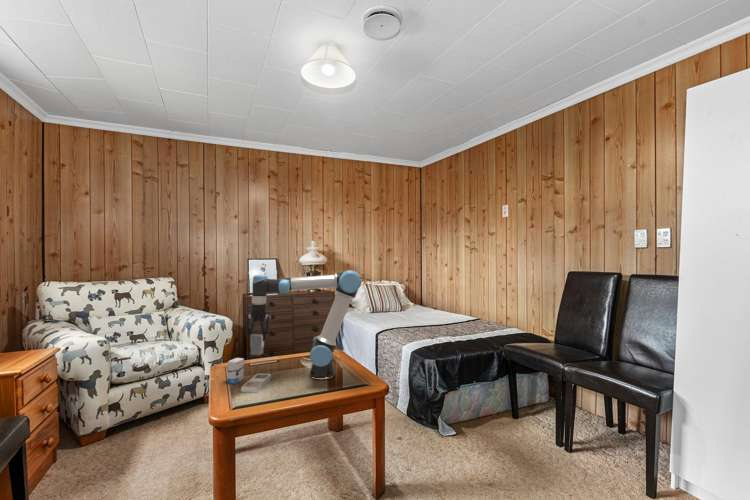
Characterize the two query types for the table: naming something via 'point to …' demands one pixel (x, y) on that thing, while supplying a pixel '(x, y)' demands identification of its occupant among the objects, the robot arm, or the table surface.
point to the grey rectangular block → (256, 344)
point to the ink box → (235, 370)
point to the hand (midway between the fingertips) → (257, 346)
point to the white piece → (256, 383)
